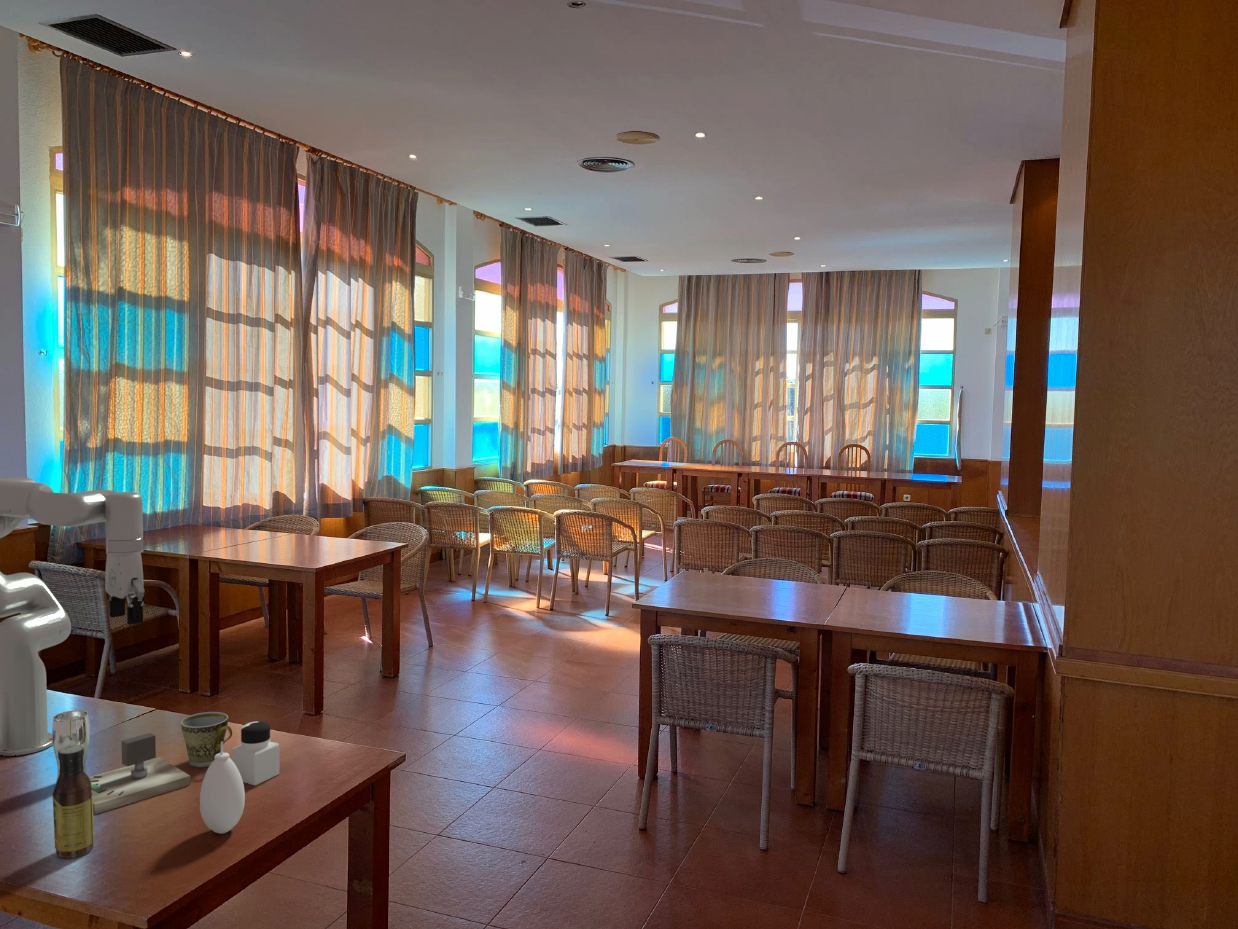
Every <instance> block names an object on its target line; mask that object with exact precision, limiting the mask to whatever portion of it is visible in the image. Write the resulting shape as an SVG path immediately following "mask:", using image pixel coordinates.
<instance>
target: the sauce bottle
mask: <svg viewBox="0 0 1238 929" xmlns="http://www.w3.org/2000/svg"><path fill="white" fill-rule="evenodd" d="M83 755H84V747H83V746H81V745H69V746H66V747H63V748H61V749H59V751H58V758H59V761H60V771H59V773H60V774H59V777H58V780H57V779H56V780H57V782H55V785H54V788H53V791H52V808H53V809H52V810H53V811H52V812H53V835H54V849H55V853H56V856H57V857H58V858H61V859H74V858H80V857H84V856H85V855H86V854H88V853H89V852H90V851H92V850H93V848H94V841H95V840H94V839H95V826H94V824H95V822H94V813H93V796H92V788H91V780H90V778H89V777H90V776H89V774H88V775H87V774H86V773H85V772H84V771H83V770H84V766H83Z"/></svg>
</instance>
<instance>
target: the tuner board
mask: <svg viewBox="0 0 1238 929" xmlns="http://www.w3.org/2000/svg"><path fill="white" fill-rule="evenodd" d="M144 767H147V768H148V774H147V776H145V777H142V778H130V779H127V780H124V781H121V782H118V783H115V784H112V785H109V786H106V787H103V788H101V787H100V785H101V784H104V783H107V782H110V781H113V780H116V779H120V778H123V777H126V776H129V775H131V770H132V769H134V765H131V766H128V767H127V766H124V767H120V768H116V769H114V770H109V771H106V772H103V773H98V774H95V775H92V776H88V777H89V778H90V780H91V788H92V796H93V814H94V815H97V814H102V813H104V812H107V811H111V810H114V809H116V808H120V807H123V806H126V804H127V805H129V804H133V803H136V801H137V802H139V801H142V800H146V799H149V798H152V797H156V796H158V795H162V794H165V793H170V792H171V791H175V790H178V789H181V788H185V787H188V786H190V785H191V775H190V774H188V773H186V772H185V771H184V770H181V769H180V768H178V767H176V766H175V765H173V764H172V763H170V762H168V761H167V760H166V759H164V758H162V757H161V756H159V757H157V758H154V759H150V760H147V761H144ZM132 802H133V803H132Z"/></svg>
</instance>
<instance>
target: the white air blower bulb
mask: <svg viewBox="0 0 1238 929" xmlns="http://www.w3.org/2000/svg"><path fill="white" fill-rule="evenodd" d="M214 759H215V760H214V761H213V762H212V763H211V765H210V766H208V768H207V770H206V772H205V775H204V777H203V780H202V784H201V788H200V794H199V810H200V815H201V818H202V821H203V822H204V824H205V826H206V827H207V828H208V829H209V830H211V831H212V832H214V833H217V834H221V835H222V834H226V833H227V832H229V831H231V830H232V829H233V827H235V826H236V825H238V823H239V821H240V819H241V817H242V815H243V812H244V809H245V798H246V794H245V786H244V785H245V784H244V783H243V781H242V778H241V775H240V773H239V770H238V768H237V767H236V765H235V763H234V762H233V761H232V758H231V757H230V754H229V753H228V752H224V744H223V743H222V741H221V752H220V753H218V754H216V755H215V757H214Z"/></svg>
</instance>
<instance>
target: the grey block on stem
mask: <svg viewBox="0 0 1238 929" xmlns="http://www.w3.org/2000/svg"><path fill="white" fill-rule="evenodd" d="M156 745H157V743H156V734H153V733H151V732H148V733H144V734H141V735H138V736H135V737H134V736H133V737H131V738H127V739H124V740H121V764H122V765H124V767H128V766H131V765H134V769H132V770H131V775H129V776H126V777H123V778H120V779H116V780H113V781H110V782H107V783H104V784H101V785H100V787H101V788H103V787H106V786H109V785H112V784H115V783H118V782H121V781H124V780H127V779H130V778H142V777H145V776H147V774H148V768H147V767H144V761H148V760H152V759H155V758H156V757H157V753H156V752H157V751H156V750H157V749H156Z"/></svg>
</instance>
